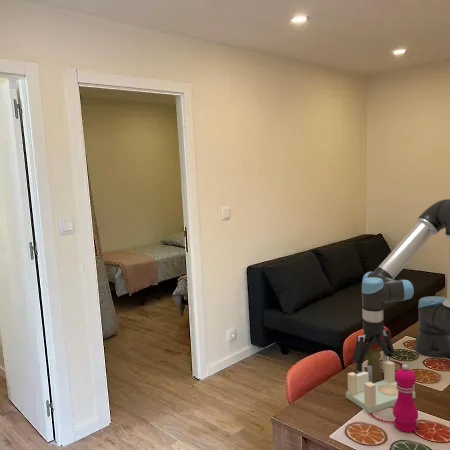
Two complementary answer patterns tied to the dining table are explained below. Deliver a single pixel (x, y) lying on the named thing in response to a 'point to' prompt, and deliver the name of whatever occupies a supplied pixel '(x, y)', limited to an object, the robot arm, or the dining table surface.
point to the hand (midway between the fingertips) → (373, 375)
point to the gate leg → (357, 382)
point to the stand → (378, 391)
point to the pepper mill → (405, 400)
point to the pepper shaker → (374, 364)
